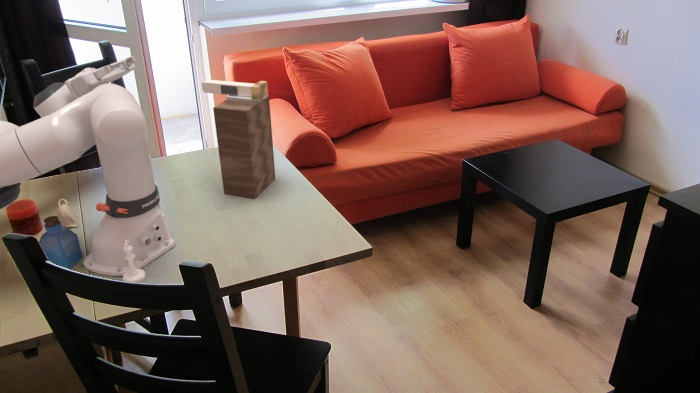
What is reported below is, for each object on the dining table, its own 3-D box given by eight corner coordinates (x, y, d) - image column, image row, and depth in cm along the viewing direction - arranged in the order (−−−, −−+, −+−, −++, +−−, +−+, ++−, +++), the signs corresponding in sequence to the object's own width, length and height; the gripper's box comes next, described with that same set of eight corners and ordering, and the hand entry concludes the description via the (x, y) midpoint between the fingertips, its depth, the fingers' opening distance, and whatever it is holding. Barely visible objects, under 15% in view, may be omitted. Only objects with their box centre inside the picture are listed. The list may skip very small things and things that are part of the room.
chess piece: (148, 270, 132) (140, 234, 127) (141, 283, 128) (133, 246, 123) (127, 270, 132) (119, 234, 127) (119, 283, 128) (110, 246, 123)
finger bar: (253, 97, 158) (252, 87, 157) (201, 92, 163) (200, 82, 161) (258, 94, 161) (257, 83, 160) (208, 89, 166) (206, 79, 164)
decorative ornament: (60, 230, 148) (55, 213, 146) (61, 216, 155) (56, 199, 153) (77, 227, 150) (72, 210, 147) (77, 213, 157) (72, 196, 154)
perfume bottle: (59, 254, 138) (46, 211, 133) (83, 256, 138) (71, 213, 132) (44, 269, 133) (30, 225, 127) (68, 271, 132) (55, 227, 127)
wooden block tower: (254, 198, 163) (244, 95, 149) (224, 194, 166) (211, 92, 151) (275, 178, 175) (267, 80, 160) (246, 174, 178) (236, 78, 163)
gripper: (121, 83, 174) (151, 64, 167) (73, 103, 157) (104, 83, 150) (109, 65, 172) (138, 44, 166) (59, 83, 155) (89, 61, 149)
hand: (121, 63), depth 158 cm, fingers open, 8 cm apart
